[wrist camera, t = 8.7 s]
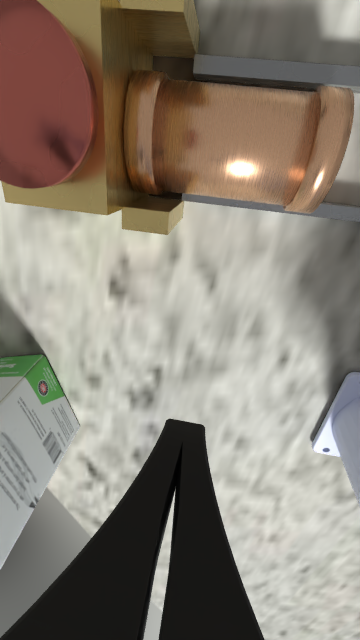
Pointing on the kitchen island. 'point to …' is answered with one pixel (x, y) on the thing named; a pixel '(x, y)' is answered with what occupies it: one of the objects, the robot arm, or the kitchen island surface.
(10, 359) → the ink box
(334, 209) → the rails
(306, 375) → the kitchen island surface
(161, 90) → the coupling
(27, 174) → the valve
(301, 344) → the kitchen island surface
